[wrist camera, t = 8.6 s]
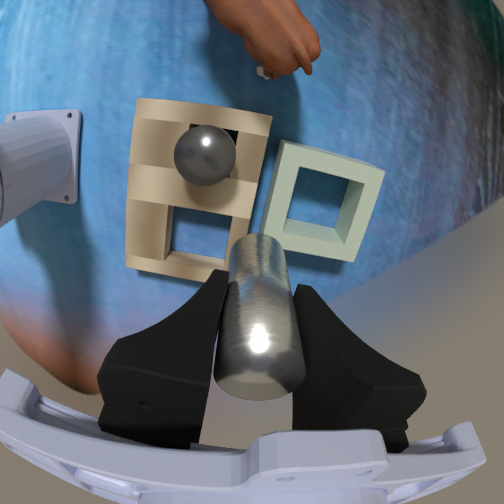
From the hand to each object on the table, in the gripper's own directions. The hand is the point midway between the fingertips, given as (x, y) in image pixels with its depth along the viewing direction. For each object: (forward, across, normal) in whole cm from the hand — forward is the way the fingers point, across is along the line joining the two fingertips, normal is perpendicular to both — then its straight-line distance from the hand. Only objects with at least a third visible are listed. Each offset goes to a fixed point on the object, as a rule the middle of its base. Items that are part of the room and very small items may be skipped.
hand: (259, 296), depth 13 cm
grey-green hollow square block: (+11, -4, -2) cm, 12 cm away
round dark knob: (+10, +4, -4) cm, 12 cm away
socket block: (+10, +4, -1) cm, 11 cm away
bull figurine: (+11, +4, -15) cm, 19 cm away
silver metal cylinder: (+4, 0, 0) cm, 4 cm away
